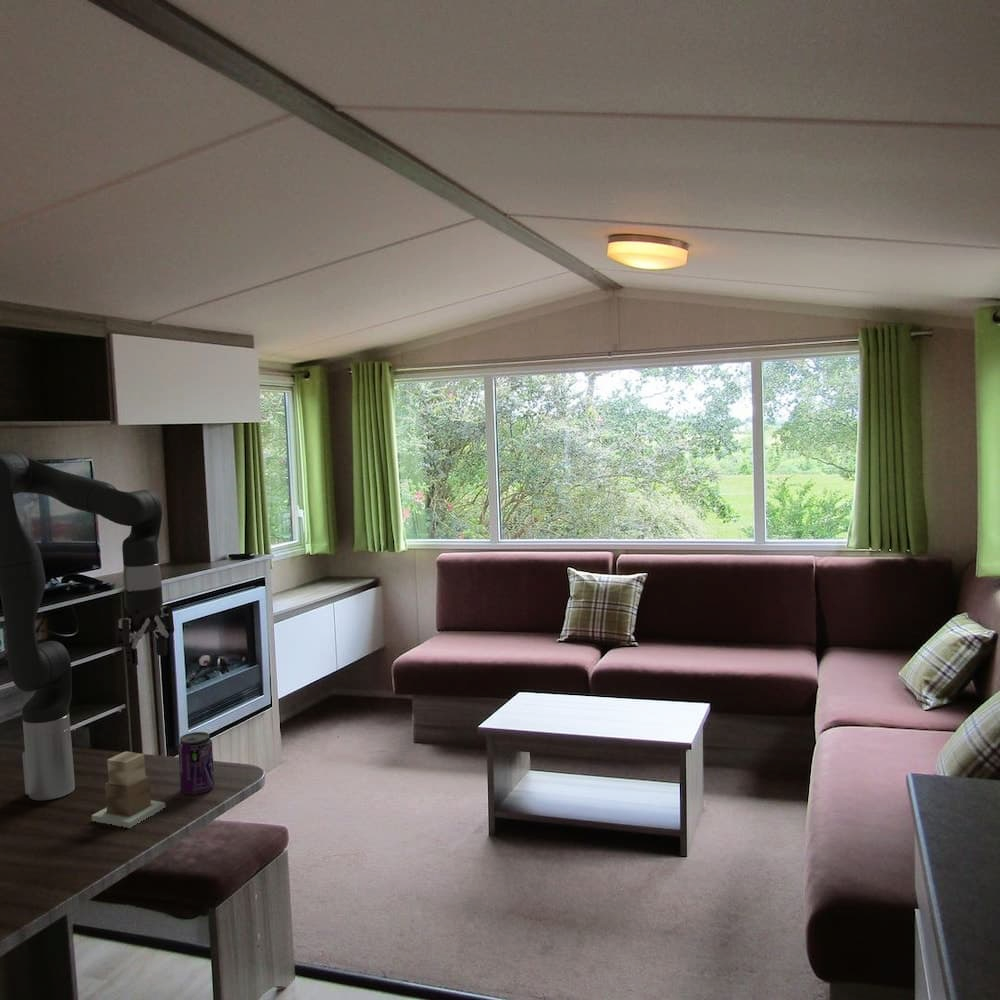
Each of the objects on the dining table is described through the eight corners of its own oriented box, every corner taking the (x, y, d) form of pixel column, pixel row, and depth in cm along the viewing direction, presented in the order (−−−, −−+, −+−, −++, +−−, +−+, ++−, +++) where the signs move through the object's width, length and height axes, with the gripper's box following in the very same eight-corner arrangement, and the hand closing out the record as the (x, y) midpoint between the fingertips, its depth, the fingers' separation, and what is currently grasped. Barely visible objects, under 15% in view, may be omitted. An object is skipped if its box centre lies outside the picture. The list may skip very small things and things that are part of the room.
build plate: (92, 820, 192) (91, 814, 192) (128, 801, 202) (128, 795, 201) (129, 828, 189) (129, 822, 188) (165, 808, 198) (165, 802, 198)
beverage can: (204, 797, 203) (201, 743, 201) (174, 795, 204) (171, 741, 203) (220, 784, 210) (217, 731, 208) (191, 782, 211) (188, 730, 210)
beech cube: (108, 783, 193) (107, 759, 193) (127, 774, 198) (125, 751, 197) (127, 786, 191) (126, 762, 191) (145, 777, 196) (144, 754, 195)
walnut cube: (106, 812, 193) (104, 783, 193) (128, 800, 199) (126, 773, 198) (129, 816, 191) (127, 787, 190) (150, 804, 197) (149, 776, 196)
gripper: (153, 578, 207) (158, 650, 209) (103, 590, 194) (108, 667, 196) (180, 580, 204) (184, 653, 206) (131, 592, 191) (136, 671, 193)
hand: (147, 660), depth 201 cm, fingers open, 8 cm apart
